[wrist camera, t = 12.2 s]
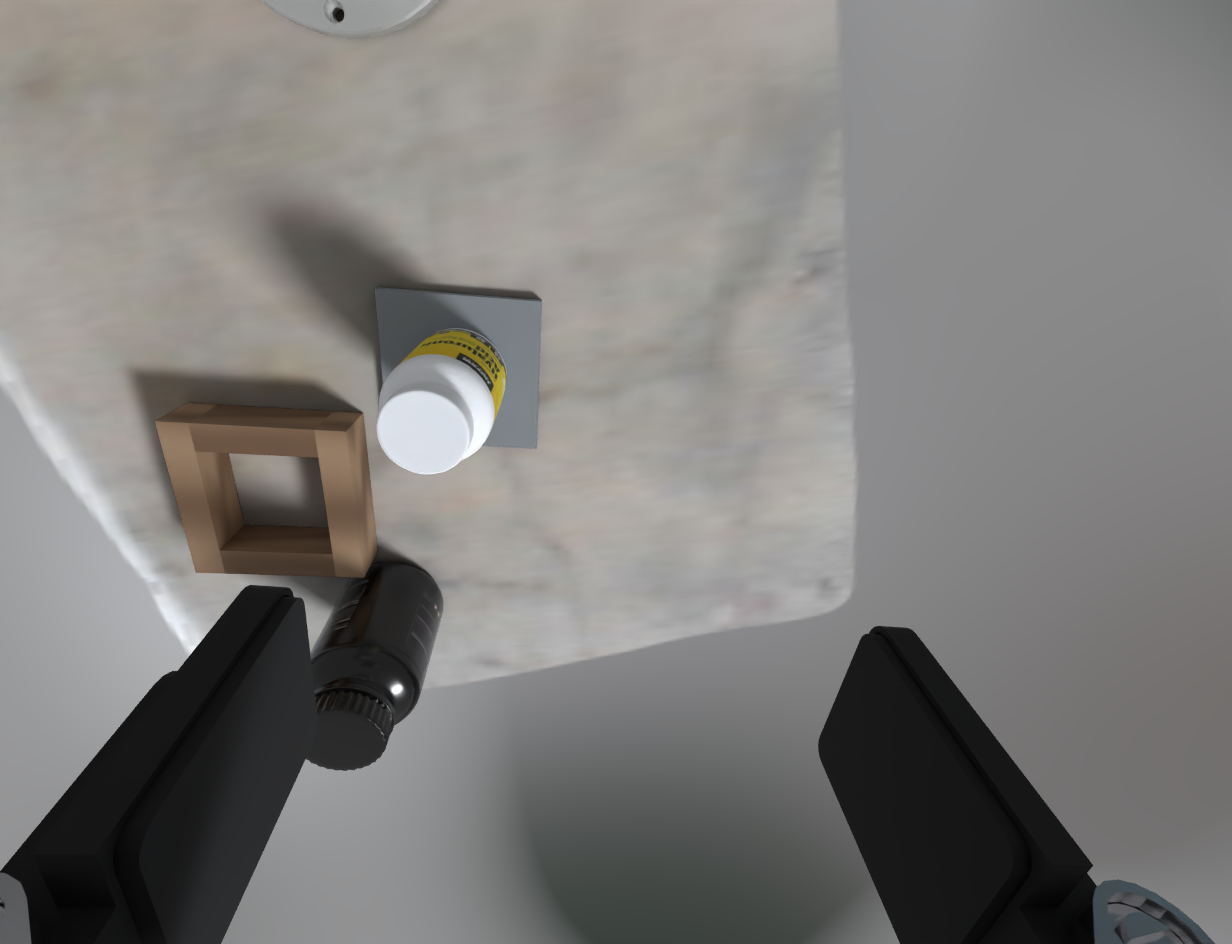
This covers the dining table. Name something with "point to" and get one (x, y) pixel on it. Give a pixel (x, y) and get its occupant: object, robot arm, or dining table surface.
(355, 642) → the supplement bottle
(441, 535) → the dining table surface
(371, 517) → the walnut collar
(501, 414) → the slate mat
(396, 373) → the supplement bottle
